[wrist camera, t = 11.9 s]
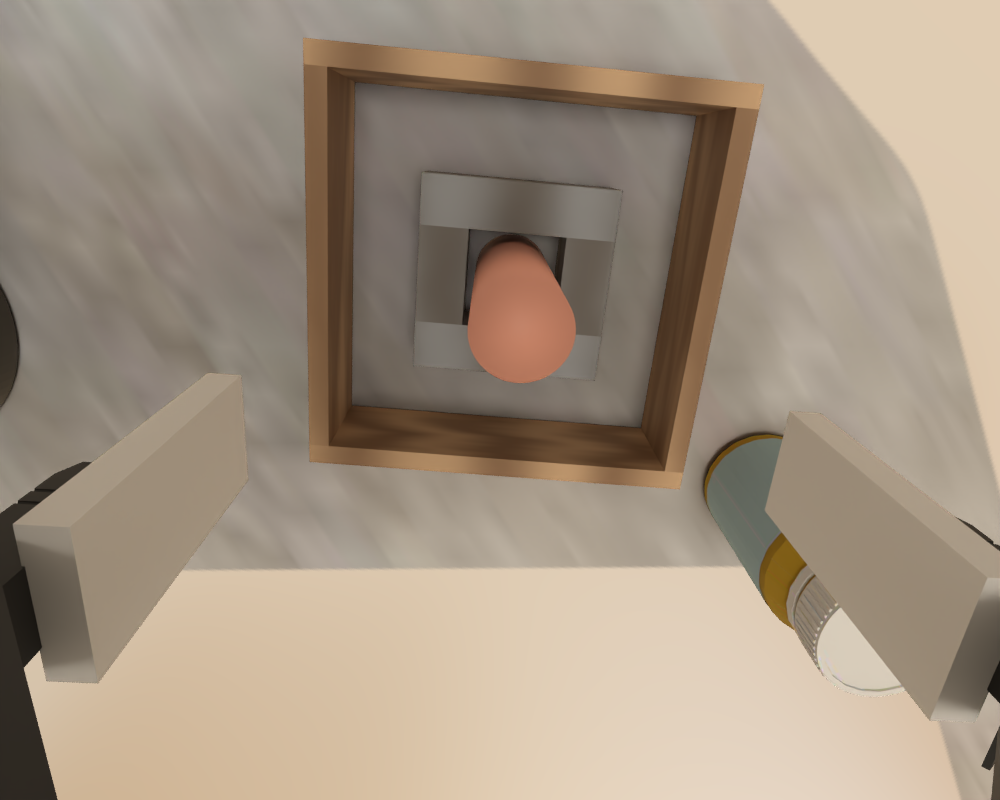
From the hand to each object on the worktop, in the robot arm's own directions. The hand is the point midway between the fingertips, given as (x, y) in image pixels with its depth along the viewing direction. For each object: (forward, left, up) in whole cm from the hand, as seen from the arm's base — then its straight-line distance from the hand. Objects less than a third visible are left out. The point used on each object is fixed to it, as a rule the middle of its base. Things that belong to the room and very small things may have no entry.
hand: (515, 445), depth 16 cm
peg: (0, +1, -23) cm, 23 cm away
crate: (+1, 0, -23) cm, 23 cm away
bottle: (+18, -12, -23) cm, 31 cm away
